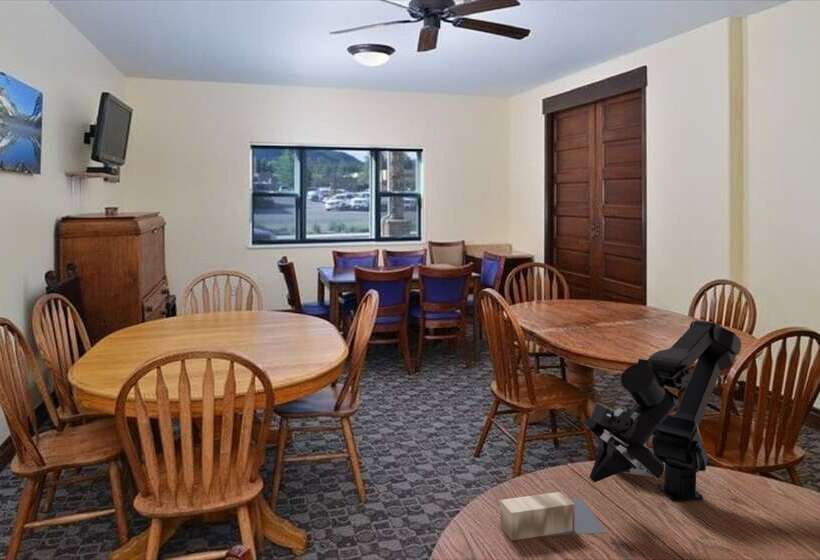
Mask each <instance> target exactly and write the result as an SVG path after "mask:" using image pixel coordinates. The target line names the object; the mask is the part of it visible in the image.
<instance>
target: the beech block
mask: <svg viewBox="0 0 820 560" xmlns="http://www.w3.org/2000/svg"><path fill="white" fill-rule="evenodd" d="M570 499H571V498H568V497H567V495H565V494H564V493H563V492H562V491H556V492H549V493H540V494H533V495H526V496H520V497H513V498H506V499H500V500H499V501H500V503H499V505H500V511H499V512H500V515H499V516H500V519H499V521H500V524H499V525H500V526H499V527H500V528H501V529H502V530H503V531H504V533H505V535H506V536H507V537H508V538H509V539H510V541H517V540H523V539H530V538H537V537H545V536H544V535H551V534H557V533H564V532H570V531H574V521H575V504H574V503H573V502H572V501H571V500H570Z"/></svg>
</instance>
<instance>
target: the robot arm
mask: <svg viewBox="0 0 820 560" xmlns="http://www.w3.org/2000/svg"><path fill="white" fill-rule="evenodd" d="M741 351H742V340H741V338H740V337H739V336H738V335H737V334H736V333H735V332H733V331H732V330H729V329H726V328H724V327H722V326H721V325H720V324H719V323H716V322H714V321H706V320H692V321H691V323H690V325H689V328H688V329H687V330H686V331H685V332H684V333H683V334H682V335H681V336H680V337H679V338H678V339H677V341H676V342H675V343H673V344H672V346H671V347H669V348H667V349H662V350H658V351H656V352H654V353H653V354H651V355H650V356H649V357H648V359H643V358H638V361H637V363H635V364H632V365H630V366H628V367H626V369H625V370H624V371H623V372H622V374H621V376H620V382H621V385H622V387H623V389H625V391H626V392H627V394H628V395H629V396H630V397H631V399H632V400H633V401H634V403H633V405H632V406H631V407H628V406H626V405H625V406H623V407H618V408H617V409H616V408H612V407H610V406H607V405H605V404H602V403H600V402H596V403H595V405H594V408H593V409H592V413H591V415H590V416H588V417H587V418H586V419H585V420H584V421H583V423H582V425H583V426H585V427H586V429H587V430H589V431H590V432H591V433H592V434H593V435H594V436H595V438H596V440H597V442H598V451H597V455H596V458H595V461H594V463H593V466H592V470H591V471H590V475H589V477H588V478H589V479H590V480H591V481H592V482H594V483H598V482H599V481H603V480H604V479H607V478H609V477H612V476H614V475H616V474H619V473H624V472H623V471H626V470H629V469H634V470H635V469H636V468H637V467H636V466H635V464H636V462H637V461H639V462H640V463H641V464H642V465H643V466H644V467H645V468H646V469H647V472H648V473H649V474H650V475H652V476H653V477H652V478H655V479H656V480H659V479H660V477H661V476H662V475H663V474H664V483H657V484H656V487H657V488H658V489H659V490H660V491H661V492H662V493H663V494H664V495H665V496H667V498H669V499H670V500H671V501H685V500H686V501H688V500H689V501H690V500H703V498H704V496H703V495H702V494H701V493H700V492H699V491H697V473H699V472H706V470H707V464H708V459H709V458H708V456H709V455H708V453H707V451H706V449H705V448H704V446H703V438H702V436H701V432H700V430H699V429H700V428H699V427H700V424H701V422H702V419H703V416H704V413H705V411H706V409H707V406H708V403H709V400H710V399H711V396H712V393H713V391H714V388H715V386H716V383H717V381H718V378H719V376H720V373H721V372H722V371H723V370H725V369H727V368H728V367H730V366H732V365H733V363H734V361H736V360H735V359H736V358H737V356H738V355H739V354H740V353H741ZM695 362H696V364H695ZM693 365H695V366H694V367H693V370H692V369H691V368H692V366H693ZM669 388H670V389H675V390H680V391H681V390H683V389H684V391H683V394H682V396H681V398H680V397H679V396H678V395H676V394H675V393H673V392H671V391H670V390H669ZM673 411H674V412H675V413H674V414H673V415H670V414H671V413H672V412H673ZM652 435H653V439H652V446H653V452H654V454H653V453H652V452H651V451H650V450H649V449H648V448H646V447H645V446H643V445H644V444H645V443H646V442H647V441H648V439H649V438H650V437H651V436H652Z"/></svg>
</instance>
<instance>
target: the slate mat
mask: <svg viewBox="0 0 820 560" xmlns="http://www.w3.org/2000/svg"><path fill="white" fill-rule="evenodd" d="M569 499H570V500H571V501H572V502H573V503H574V504H575V521H574V531H570V532H564V533H557V534H551V535H544V536H543V537H553V536H569V535H570V536H573V535H590V534H607V533H608V531H607V530H606V528H605V527H604V526H603V525H602V523H601V522H600V521H599V519H598V518H597V517H596V515H595V514H594V513H593V511H592V510H591V509H590V507H589V506H588V505H587V504H586V502H585V501H584V500H583V498H569Z"/></svg>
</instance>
